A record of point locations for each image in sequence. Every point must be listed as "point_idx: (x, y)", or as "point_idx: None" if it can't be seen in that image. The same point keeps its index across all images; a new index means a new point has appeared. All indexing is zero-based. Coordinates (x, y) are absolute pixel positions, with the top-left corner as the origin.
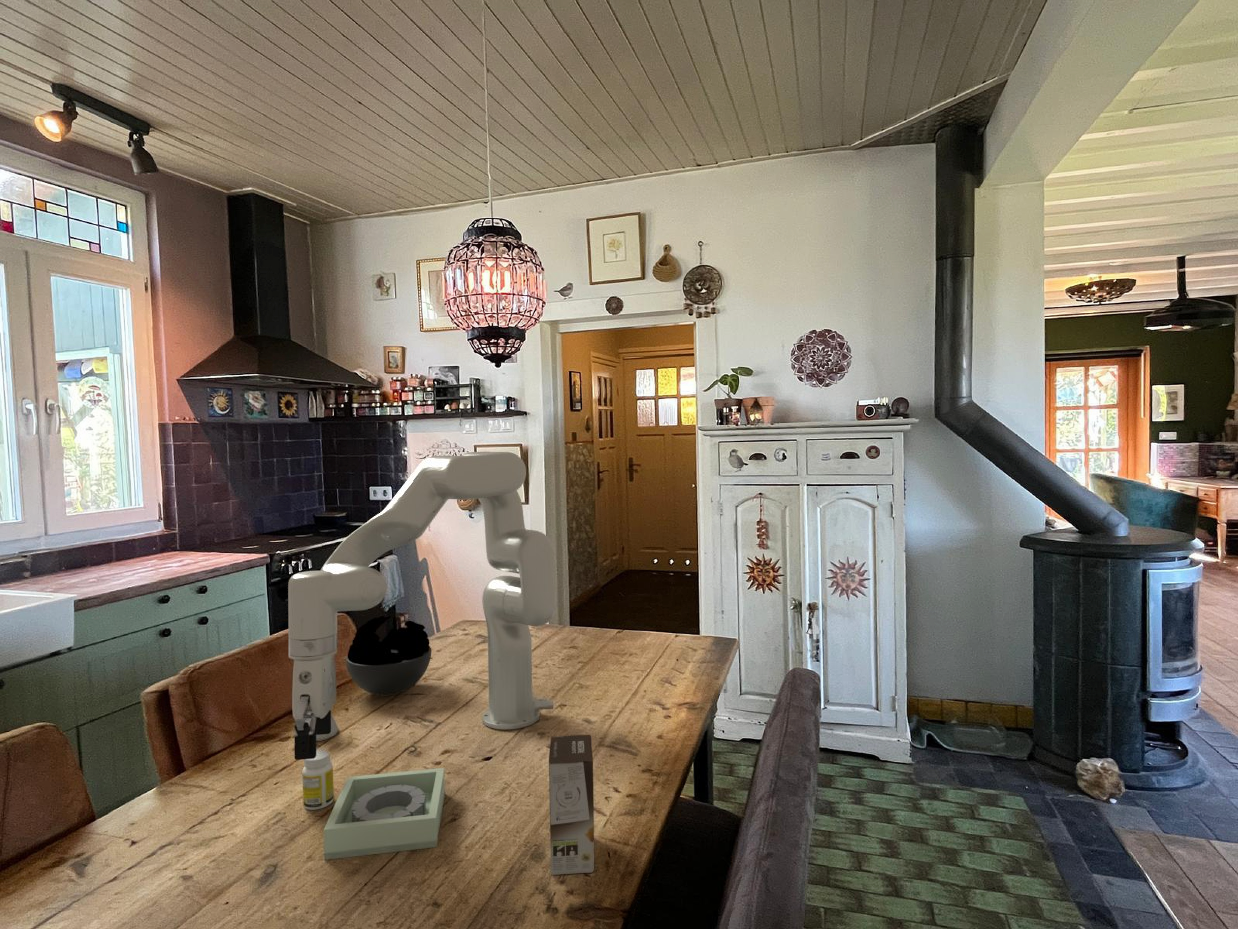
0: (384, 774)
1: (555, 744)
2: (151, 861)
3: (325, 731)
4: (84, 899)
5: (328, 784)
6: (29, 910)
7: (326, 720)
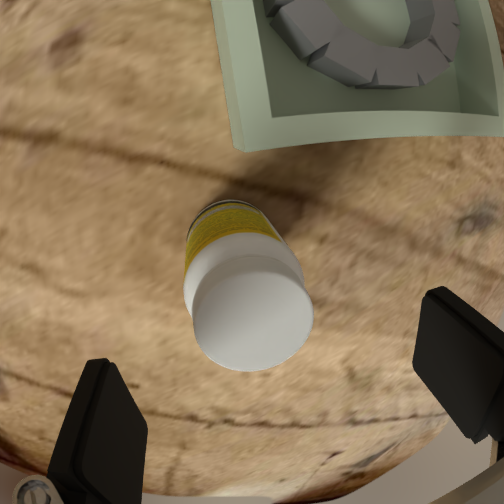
0: (232, 7)
1: None
2: (390, 409)
3: (117, 386)
4: (438, 410)
5: (258, 220)
6: (433, 434)
7: (101, 436)
